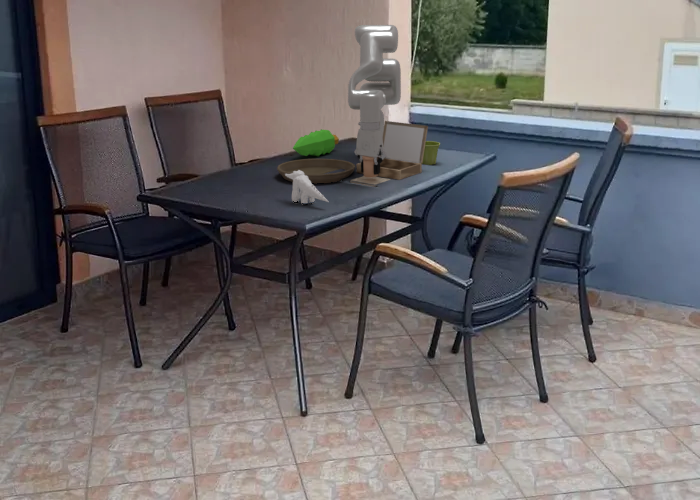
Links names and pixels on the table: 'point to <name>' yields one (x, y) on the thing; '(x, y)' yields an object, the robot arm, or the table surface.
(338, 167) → the plant saucer
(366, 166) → the tan rounded knob
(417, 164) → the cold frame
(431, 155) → the plant pot
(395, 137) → the lid
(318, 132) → the decorative tree
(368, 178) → the sandstone tile
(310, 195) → the dinosaur statue
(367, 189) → the table surface
